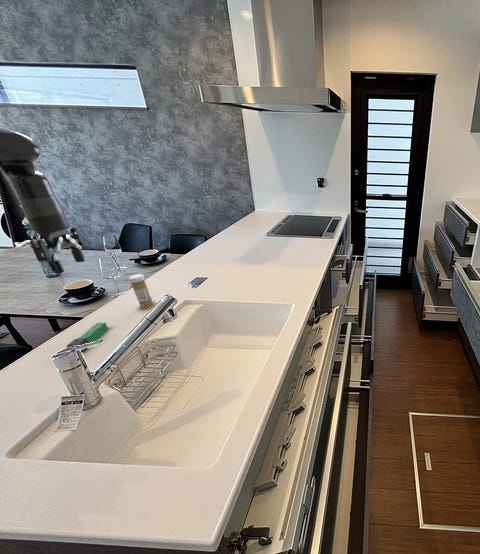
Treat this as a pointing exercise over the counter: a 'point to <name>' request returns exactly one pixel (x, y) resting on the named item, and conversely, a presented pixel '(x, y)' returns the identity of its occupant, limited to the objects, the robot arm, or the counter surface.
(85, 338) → the marker
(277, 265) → the counter surface
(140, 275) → the sprinkles bottle
